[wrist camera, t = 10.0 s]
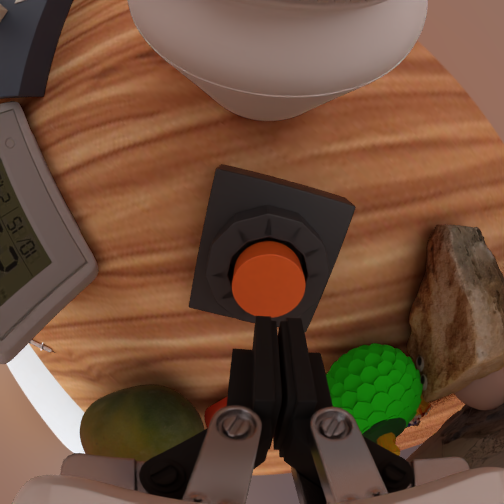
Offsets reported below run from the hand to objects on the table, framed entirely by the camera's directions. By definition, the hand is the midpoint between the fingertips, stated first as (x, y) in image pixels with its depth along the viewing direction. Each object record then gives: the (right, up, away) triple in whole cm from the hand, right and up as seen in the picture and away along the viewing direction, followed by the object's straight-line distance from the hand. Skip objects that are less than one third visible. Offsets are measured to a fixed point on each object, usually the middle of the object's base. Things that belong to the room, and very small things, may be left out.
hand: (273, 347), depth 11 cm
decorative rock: (+14, +1, +2) cm, 14 cm away
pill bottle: (0, +15, +4) cm, 15 cm away
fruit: (-11, -11, +15) cm, 22 cm away
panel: (-20, +22, +1) cm, 30 cm away
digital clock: (-17, +8, +7) cm, 20 cm away
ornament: (+8, -6, +12) cm, 16 cm away
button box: (0, +4, +8) cm, 9 cm away
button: (0, +3, +5) cm, 6 cm away
